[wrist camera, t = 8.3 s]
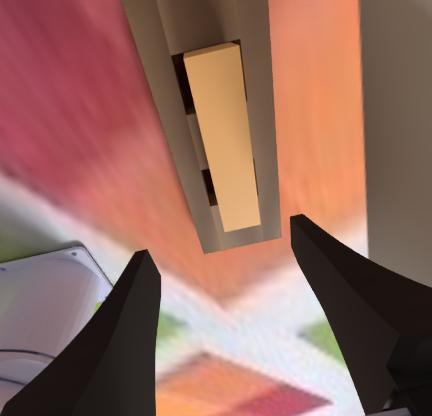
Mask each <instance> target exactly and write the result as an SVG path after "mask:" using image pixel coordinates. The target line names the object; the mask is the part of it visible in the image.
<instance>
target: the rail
mask: <svg viewBox="0 0 432 416" xmlns="http://www.w3.org/2000/svg"><path fill="white" fill-rule="evenodd" d="M122 3H123V6H124V9H125V13H126V16H127V19H128V22H129V25H130V28H131V31H132V34H133V37H134V40H135V43H136V46H137V49H138V53H139V56H140V59H141V62H142V65H143V68H144V71H145V74H146V77H147V80H148V83H149V86H150V89H151V93H152V96H153V99H154V102H155V105H156V108H157V111H158V114H159V117H160V120H161V123H162V126H163V129H164V133H165V136H166V139H167V142H168V145H169V148H170V151H171V154H172V157H173V160H174V163H175V166H176V169H177V173H178V176H179V179H180V182H181V185H182V188H183V191H184V194H185V197H186V200H187V203H188V206H189V209H190V213H191V216H192V219H193V222H194V225H195V228H196V231H197V234H198V237H199V240H200V243H201V246H202V249H203V253H204V254H208V253H212V252H217V251H221V250H226V249H231V248H235V247H240V246H245V245H249V244H254V243H259V242H263V241H268V240H273V239H277V238H282V233H281V216H280V199H279V181H278V164H277V146H276V129H275V111H274V94H273V77H272V59H271V42H270V24H269V7H268V0H122ZM229 41H233V42H234V44H237V45H239V47H240V56H241V64H242V72H243V81H244V89H245V97H246V106H247V114H248V122H249V131H250V139H251V147H252V156H253V164H254V172H255V181H256V189H257V197H258V206H259V214H260V222H261V225H256V226H251V227H247V228H242V229H238V230H233V231H229V232H224V227H223V223H222V219H221V215H220V210H219V206H218V202H217V198H216V194H215V189H209V190H208V189H207V185H206V181H205V177H204V173H203V170H204V169H209V164H208V160H207V156H206V151H205V147H204V143H203V139H202V134H201V130H200V126H199V122H198V118H197V113H196V109H195V105H194V104H191V105H186V103H185V99H184V95H183V91H182V87H181V83H180V79H179V75H178V72H177V68H176V64H175V60H174V56H173V55H175V54H180V53H184V52H188V51H192V50H196V49H200V48H204V47H208V46H212V45H217V44H221V43H225V42H229Z"/></svg>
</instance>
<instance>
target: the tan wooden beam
mask: <svg viewBox="0 0 432 416" xmlns="http://www.w3.org/2000/svg"><path fill="white" fill-rule="evenodd" d="M184 63H185V67H186V71H187V75H188V80H189V84H190V88H191V92H192V97H193V101H194V105H195V109H196V113H197V118H198V122H199V126H200V130H201V134H202V139H203V143H204V147H205V151H206V156H207V160H208V164H209V168H210V172H211V177H212V181H213V185H214V189H215V194H216V198H217V202H218V206H219V210H220V215H221V219H222V223H223V227H224V232H229V231H233V230H238V229H242V228H247V227H251V226H256V225H261V222H260V214H259V206H258V197H257V189H256V181H255V172H254V164H253V156H252V147H251V139H250V131H249V122H248V114H247V106H246V97H245V89H244V81H243V72H242V64H241V56H240V47H239V45H237V44H233V43H230V42H228V43H224V44H220V45H216V46H212V47H207V48H203V49H199V50H195V51H191V52H187V53H184Z"/></svg>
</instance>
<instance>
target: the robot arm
mask: <svg viewBox="0 0 432 416" xmlns="http://www.w3.org/2000/svg"><path fill="white" fill-rule="evenodd" d="M290 228H291V247H292V250H293V252H294V255H295V257H296V260H297V262H298V264H299V266H300V268H301V270H302V272H303V274H304V275H305V277H306V279H307V281H308V283H309V285H310V286H311V288H312V290H313V292H314V294H315V295H316V297H317V299H318V301H319V303H320V304H321V306H322V308H323V310H324V312H325V315H326V317H327V319H328V322H329V324H330V326H331V329H332V331H333V333H334V336H335V338H336V340H337V343H338V345H339V348H340V350H341V352H342V355H343V357H344V360H345V363H346V365H347V368H348V370H349V373H350V375H351V378H352V380H353V383H354V386H355V388H356V391H357V394H358V396H359V399H360V402H361V404H362V407H363V410H364V413H365V415H366V416H432V288H431V287H428V286H426V285H423V284H420V283H418V282H416V281H413V280H411V279H408V278H406V277H404V276H402V275H399V274H397V273H395V272H393V271H391V270H388V269H387V268H384V267H382V266H380V265H378V264H377V263H375V262H373V261H371V260H369V259H367V258H365V257H364V256H362V255H360V254H359V253H357V252H355V251H354V250H352V249H350V248H349V247H347V246H346V245H344V244H343V243H341V242H340V241H338V240H337V239H335V238H334V237H333V236H331V235H330V234H328V233H327V232H326V231H324V230H323V229H322V228H320V227H319V226H318V225H316V224H315V223H314V222H312V221H311V220H310V219H309V218H307V217H306V216H305V215H303V214H300V215H295V216H291V217H290ZM74 252H76V253H74ZM101 301H104V302H103V303H102V304H101V306H100V307H99V309H98V310H97V311H96V313H95V314H94V315H93V313H94V310H95V307H96V303H97V302H101ZM160 301H161V275H160V273H159V271H158V269H157V267H156V265H155V263H154V261H153V259H152V258H151V256H150V254H149V252H148V250H147V249H146V250H141V251H137V252H135V253H134V255H133V256H132V258H131V260H130V261H129V263H128V265H127V266H126V268H125V269H124V271H123V273H122V274H121V276H120V278H119V279H118V281H117V282H116V284H115V285H114V287H112V285H111V284H110V283H109V281H108V280H107V278H106V277H105V276H104V274H103V273H102V271H101V270H100V269H99V267H98V266H97V264H96V263H95V262H94V260H93V259H92V257H91V256H90V255H89V253H88V252H87V250H86V249H85V248H84V247H81V246H78V247H73V248H69V249H64V250H60V251H55V252H50V253H46V254H41V255H37V256H32V257H28V258H23V259H19V260H14V261H10V262H5V263H0V416H156V403H155V348H156V336H157V327H158V319H159V310H160Z"/></svg>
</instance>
